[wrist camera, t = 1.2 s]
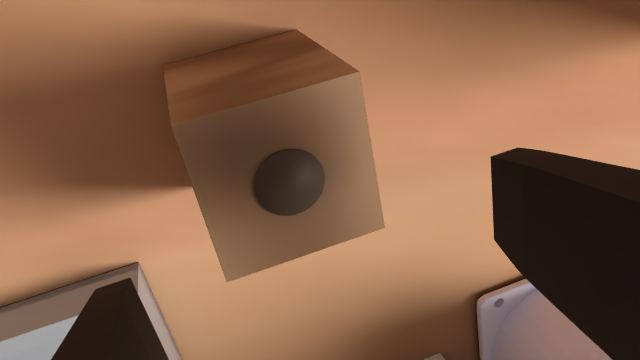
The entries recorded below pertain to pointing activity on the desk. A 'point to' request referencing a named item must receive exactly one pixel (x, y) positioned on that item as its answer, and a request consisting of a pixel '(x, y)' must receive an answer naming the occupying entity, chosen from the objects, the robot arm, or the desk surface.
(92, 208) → the desk surface
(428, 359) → the oversize block
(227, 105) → the block
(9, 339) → the tray
